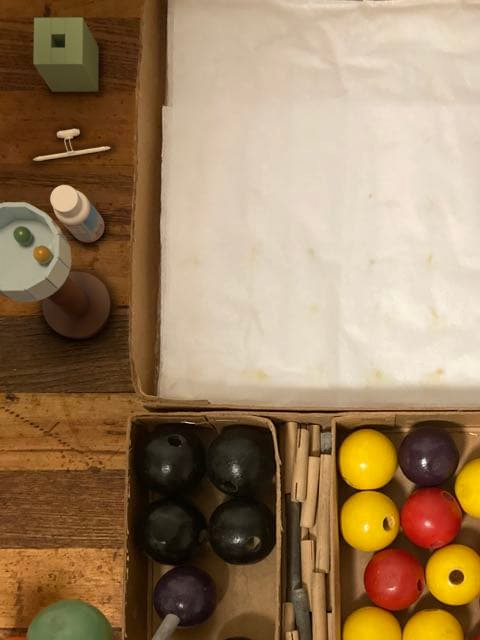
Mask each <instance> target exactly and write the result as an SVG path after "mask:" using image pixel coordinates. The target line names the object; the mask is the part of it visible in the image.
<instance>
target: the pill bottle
mask: <svg viewBox="0 0 480 640" xmlns="http://www.w3.org/2000/svg"><path fill="white" fill-rule="evenodd" d="M49 201H50V204H51V206H52V208H53V212H54V215H55V216H56V218H57V219H58V220H59V222H60V223H61V224H62V225H63V226H64V227H65V228H66V229H67V230H68V231H69V232H70V233H71V235H72V236H74V238H75V239H76V240H78V241H80V242H82V243H93V242H95V241H97V240H99V239H100V238H101V237H102V235H103V234H104V231H105V221H104V218H103V217H102V215H101V214H100V213H99V212H98V210H97V209H96V208H95V206H94V205H93V203H92V202H91V201H90V200H89V198H88V197H87V196H86V195H85V194H84V193H83V192H82V191H79V190H77V189H75V188H74V187H72V186H70V185H67V184H61V185H58V186H57V187H55V188H54V189H53V190H52V192H51V194H50V199H49Z"/></svg>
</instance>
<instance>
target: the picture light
mask: <svg viewBox="0 0 480 640" xmlns="http://www.w3.org/2000/svg"><path fill="white" fill-rule="evenodd" d="M80 131H81V130H80V129H79V128H72V129H66V130H65V129H64V130H58V131H57V132H56V137H57V138H59V139H64V141H66V140H68V141H69V142H68V143H69V146H70V148H71V150H69V149H68V146H67V143H66V142H64V146H65V149H66V152H61V153H55V154H47V155H42V156H41V155H39V156H36V157H34V158H33V159H32V160H33V161H35V162H42V161H48V160H52V159H53V160H54V159H59V158H60V159H61V158H67V157H73V156H78V155H86V154H91V153H98V152H106V151H108V150H110V149H111V146H108V145H107V146H106V145H105V146H100V147H93V148H86V149H79V150H73V146H72V145H71V144H72V143H71V140H72V139H74V137H78V136H79V135H81V132H80Z"/></svg>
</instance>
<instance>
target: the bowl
mask: <svg viewBox="0 0 480 640" xmlns="http://www.w3.org/2000/svg"><path fill="white" fill-rule="evenodd" d="M19 226H23V227H26V228H28V229H29V230H30V231H31V233H32V240H31V241H30V243H28V244H20V243H18V242H17V241H16V240H15V239H14V236H13V232H14V230H15V229H16V228H17V227H19ZM40 245H42V246H46V247H47V248H48V249H49V250H50V251H51V254H52V257H51V260H50V261H49V262H48V263H44V264H43V263H39V262H37V261H36V260H35V258H34V256H33V251H34V249H35V248H36V247H37V246H40ZM71 268H72V251H71V245H70V243H69V240H68V239H67V237H66V236H65V234H64V233H63V231H62V230H61V227H60V226H59V225H58V224H57V222H55V221H54V220H53V218H52V217H50V216H49V214H48V213H47V212H46V211H43V210H42V209H39V208H37V207H35V206H34V205H32V204H30V203H29V202H26V201H17V202H14V201H13V202H11V201H8V202H7V201H6V202H5V201H3V202H0V295H2V296H4V297H5V298H6V299H9V300H11V301H14V302H19V303H32V302H39V301H42V300H43V299H45V298H47V297H49V296H50V295H52V294H53V293H55V292H56V291H57V290H58V289H59V288H60V287H61V286H62V285H63V283H64V282H65V280H66V278H67V277H68V274H69V272H71Z"/></svg>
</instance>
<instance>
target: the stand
mask: <svg viewBox="0 0 480 640" xmlns="http://www.w3.org/2000/svg"><path fill="white" fill-rule="evenodd" d="M99 57H100V48H99V45H98V44H97V41H96V39H95V38H94V36H93V34H92V32H91V30H90V28H89V26H88V25H87V23H86V21H85V19H84V18H83V17H33V64H32V65H33V66H34V68H35V69H36V70H37V72H38V74H39V75H40V76H41V78H42V79H43V80H44V82H45V84H46V85H47V86H48V88H49V90H50V91H51V93H55V92H56V93H60V92H61V93H63V92H64V93H65V92H66V93H68V92H69V93H70V92H71V93H73V92H74V93H75V92H76V93H79V92H80V93H81V92H82V93H83V92H85V93H86V92H88V93H91V92H92V93H94V92H97V93H98V92H99V72H100V71H99V67H100V66H99V61H100V60H99Z"/></svg>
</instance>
